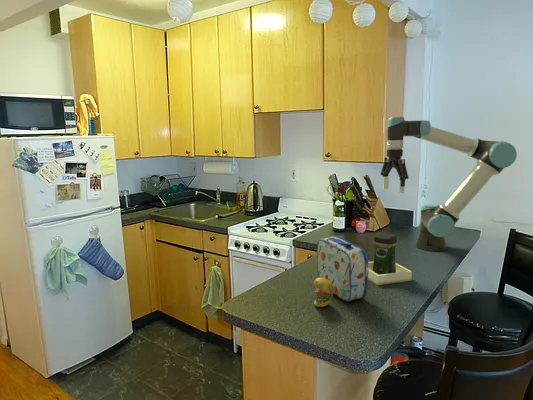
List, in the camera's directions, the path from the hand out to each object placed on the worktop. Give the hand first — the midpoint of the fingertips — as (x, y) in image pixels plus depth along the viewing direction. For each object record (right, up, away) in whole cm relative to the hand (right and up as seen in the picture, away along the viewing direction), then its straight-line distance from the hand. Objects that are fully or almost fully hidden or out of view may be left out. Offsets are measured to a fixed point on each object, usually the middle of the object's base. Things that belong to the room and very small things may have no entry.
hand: (393, 191), depth 192 cm
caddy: (-12, -38, -25) cm, 47 cm away
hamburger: (-43, -44, -52) cm, 80 cm away
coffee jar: (-12, -37, -25) cm, 47 cm away
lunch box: (-34, -41, -40) cm, 67 cm away
